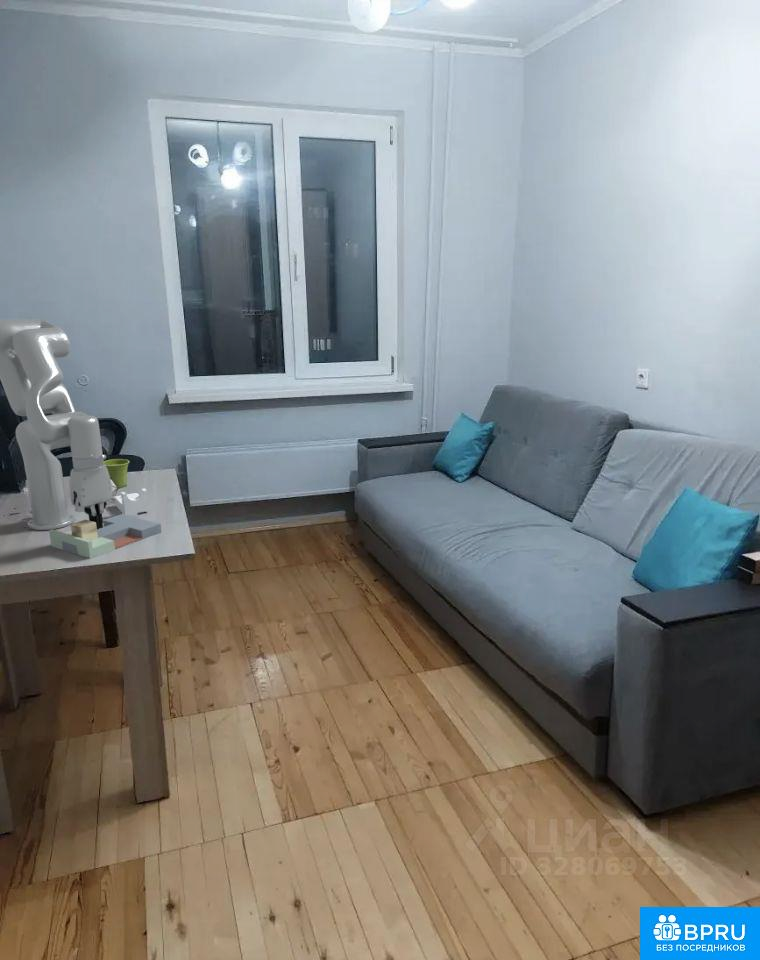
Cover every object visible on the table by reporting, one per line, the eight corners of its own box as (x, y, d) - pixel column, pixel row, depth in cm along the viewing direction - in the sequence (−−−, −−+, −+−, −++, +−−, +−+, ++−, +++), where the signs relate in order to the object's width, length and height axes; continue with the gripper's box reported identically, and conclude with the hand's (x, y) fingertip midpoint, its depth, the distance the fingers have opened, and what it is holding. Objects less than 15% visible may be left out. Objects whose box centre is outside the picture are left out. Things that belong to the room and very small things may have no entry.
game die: (111, 514, 223) (111, 495, 216) (86, 505, 223) (85, 486, 215) (124, 494, 229) (124, 475, 222) (99, 485, 229) (99, 466, 222)
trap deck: (51, 546, 186) (49, 530, 185) (122, 521, 205) (121, 507, 203) (90, 558, 177) (88, 542, 176) (161, 532, 196) (159, 517, 194)
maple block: (72, 540, 183) (70, 524, 182) (87, 535, 187) (85, 519, 185) (83, 543, 181) (81, 527, 179) (98, 538, 184) (95, 522, 183)
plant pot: (126, 480, 248) (123, 457, 246) (135, 486, 241) (133, 462, 238) (100, 485, 242) (97, 461, 240) (108, 491, 235) (105, 466, 233)
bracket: (149, 513, 213) (146, 490, 211) (125, 518, 209) (123, 494, 207) (138, 503, 223) (135, 480, 221) (115, 507, 219) (112, 484, 217)
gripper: (103, 455, 190) (111, 517, 195) (54, 467, 178) (63, 533, 183) (121, 458, 186) (128, 522, 191) (71, 470, 174) (81, 538, 179)
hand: (97, 527), depth 187 cm, fingers closed
